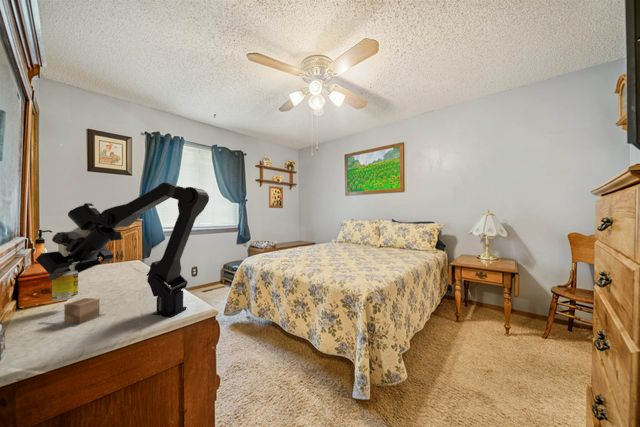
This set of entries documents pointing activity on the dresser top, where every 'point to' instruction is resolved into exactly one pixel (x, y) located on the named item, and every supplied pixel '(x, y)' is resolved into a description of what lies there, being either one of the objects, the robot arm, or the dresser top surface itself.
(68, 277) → the supplement bottle
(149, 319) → the dresser top surface
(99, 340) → the dresser top surface
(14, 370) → the dresser top surface
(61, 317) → the grey flat slab
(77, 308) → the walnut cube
